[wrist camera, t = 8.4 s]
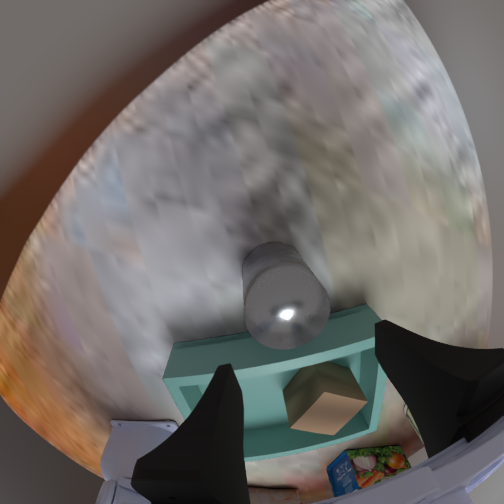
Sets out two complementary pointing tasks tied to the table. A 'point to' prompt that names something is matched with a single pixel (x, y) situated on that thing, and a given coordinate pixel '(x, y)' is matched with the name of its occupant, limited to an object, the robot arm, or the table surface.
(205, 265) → the table surface
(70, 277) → the table surface
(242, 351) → the tote
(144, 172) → the table surface
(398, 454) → the blue food package
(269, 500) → the food item
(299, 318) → the metal cylinder
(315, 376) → the walnut cube
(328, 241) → the table surface
